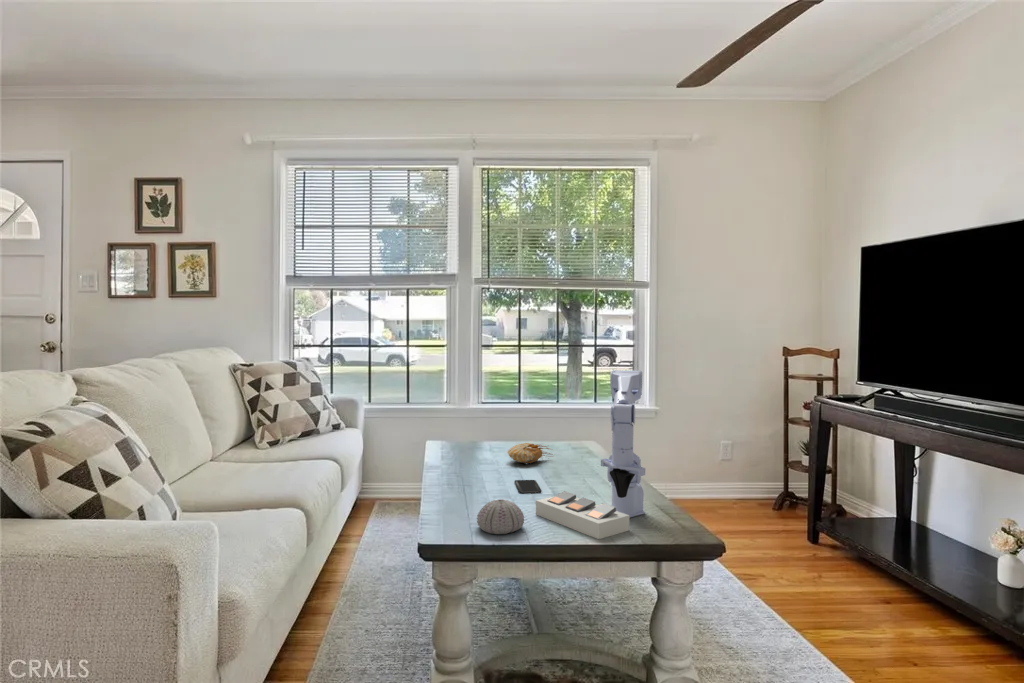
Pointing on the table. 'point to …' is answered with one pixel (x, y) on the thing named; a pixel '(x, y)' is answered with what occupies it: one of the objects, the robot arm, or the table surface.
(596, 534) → the rocker switch panel
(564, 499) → the rocker
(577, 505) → the rocker middle
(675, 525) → the table surface
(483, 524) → the sea urchin shell
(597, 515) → the rocker
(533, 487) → the phone
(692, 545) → the table surface
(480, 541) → the table surface
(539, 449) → the nautilus
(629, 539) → the table surface
